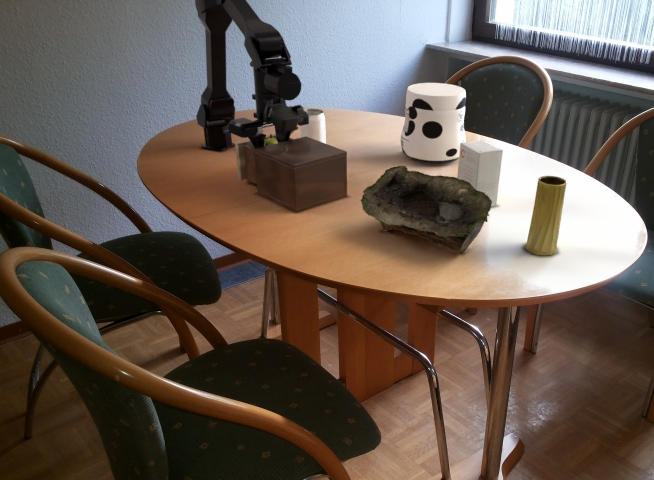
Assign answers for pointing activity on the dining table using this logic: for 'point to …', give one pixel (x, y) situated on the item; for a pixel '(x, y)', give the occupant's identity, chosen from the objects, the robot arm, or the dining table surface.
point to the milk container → (433, 122)
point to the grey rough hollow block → (428, 206)
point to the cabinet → (301, 173)
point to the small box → (481, 167)
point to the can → (315, 126)
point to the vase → (546, 215)
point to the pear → (270, 141)
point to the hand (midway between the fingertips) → (272, 158)
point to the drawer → (247, 159)
